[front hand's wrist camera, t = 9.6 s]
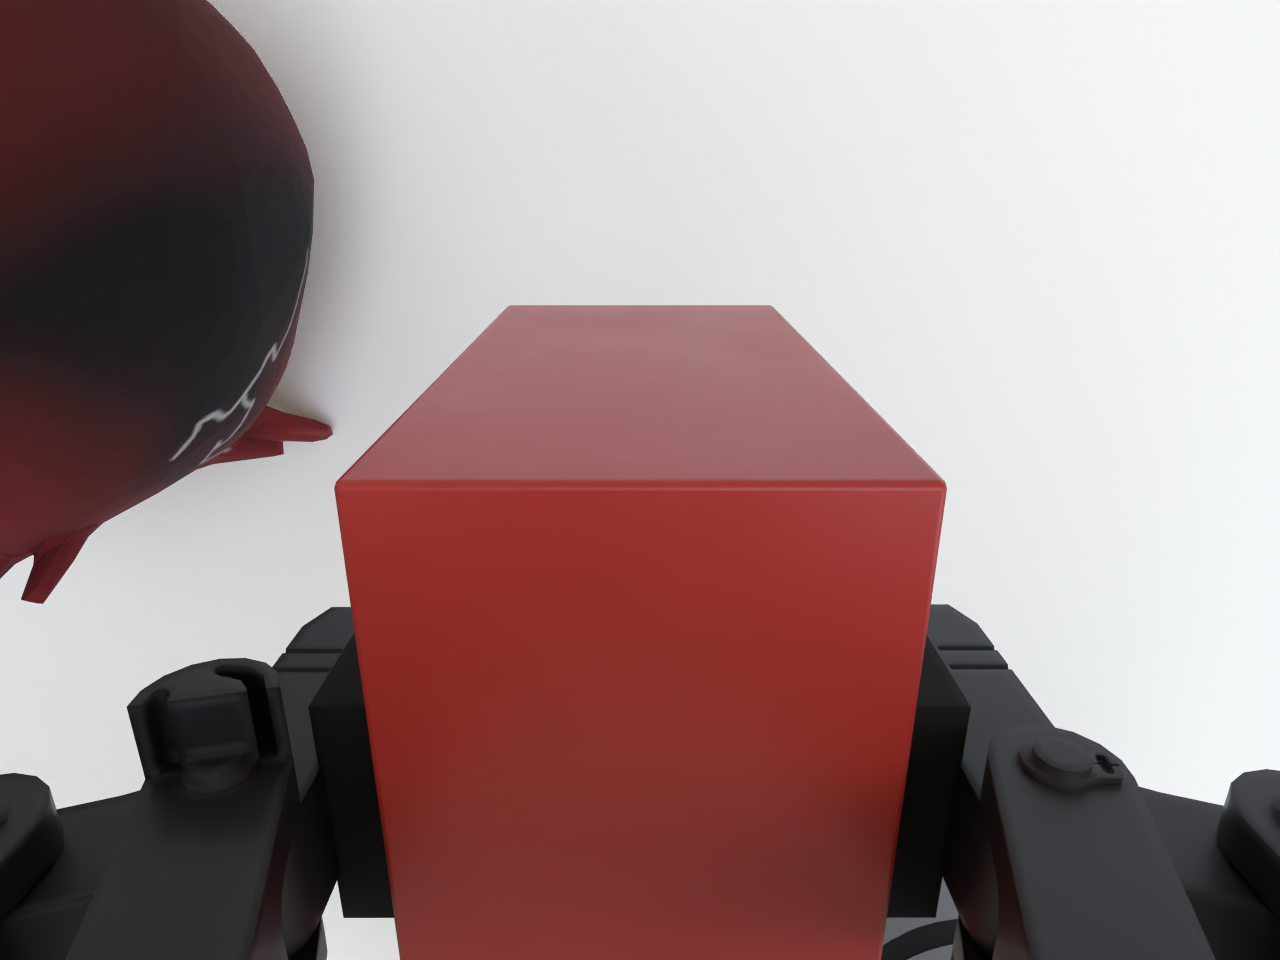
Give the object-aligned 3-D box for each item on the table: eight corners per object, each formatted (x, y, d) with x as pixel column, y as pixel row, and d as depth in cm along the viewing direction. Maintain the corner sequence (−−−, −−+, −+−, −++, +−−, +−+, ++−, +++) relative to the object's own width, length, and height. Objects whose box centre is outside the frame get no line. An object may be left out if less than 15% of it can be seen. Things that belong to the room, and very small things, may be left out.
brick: (773, 304, 15) (951, 482, 6) (753, 660, 18) (860, 1123, 9) (507, 304, 15) (329, 482, 6) (527, 660, 18) (420, 1123, 9)
